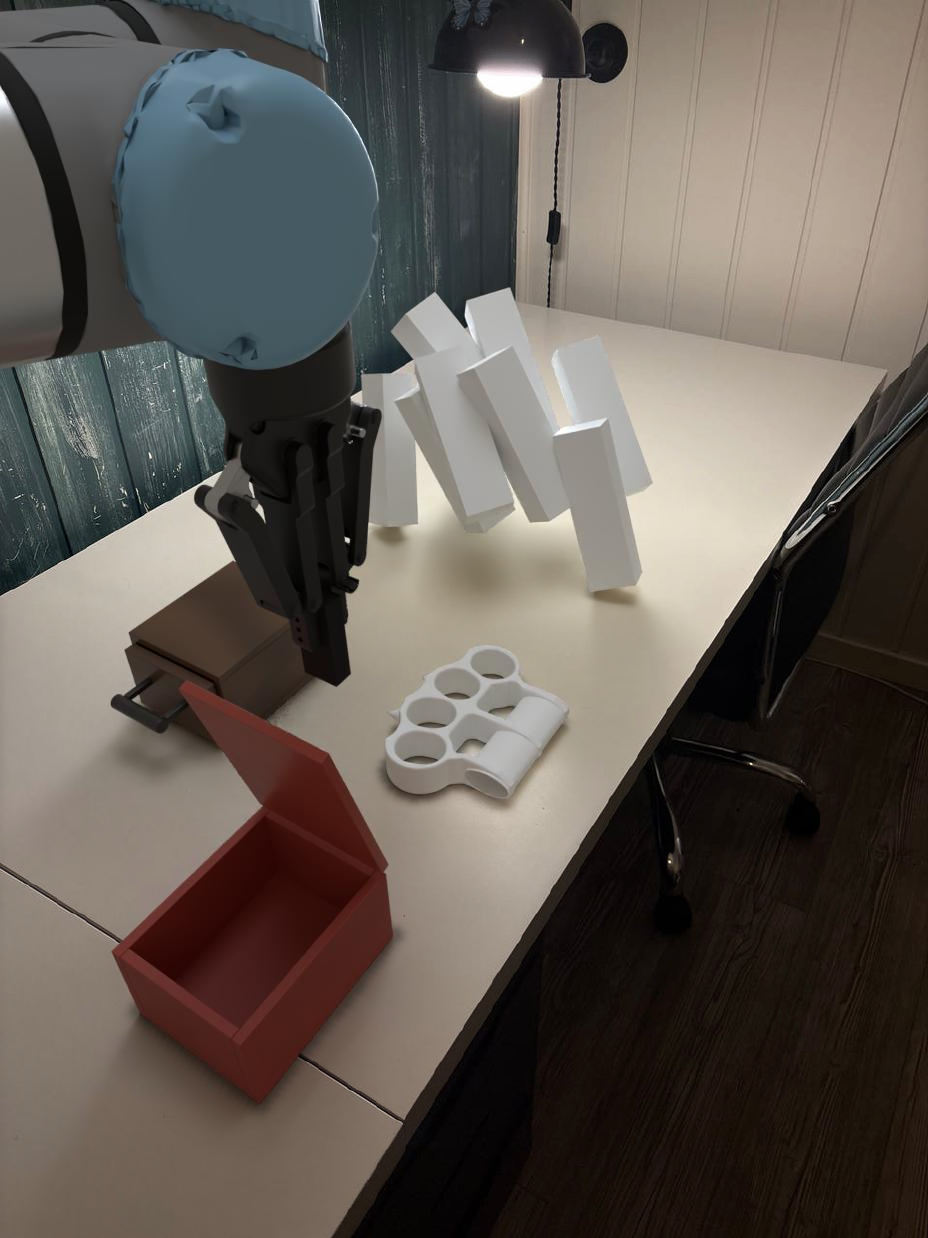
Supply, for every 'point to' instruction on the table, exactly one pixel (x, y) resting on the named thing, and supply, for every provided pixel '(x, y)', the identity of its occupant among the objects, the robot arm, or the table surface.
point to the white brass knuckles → (472, 726)
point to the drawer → (160, 692)
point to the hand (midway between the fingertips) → (327, 672)
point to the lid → (287, 775)
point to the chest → (257, 949)
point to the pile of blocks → (507, 433)
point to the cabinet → (229, 642)
